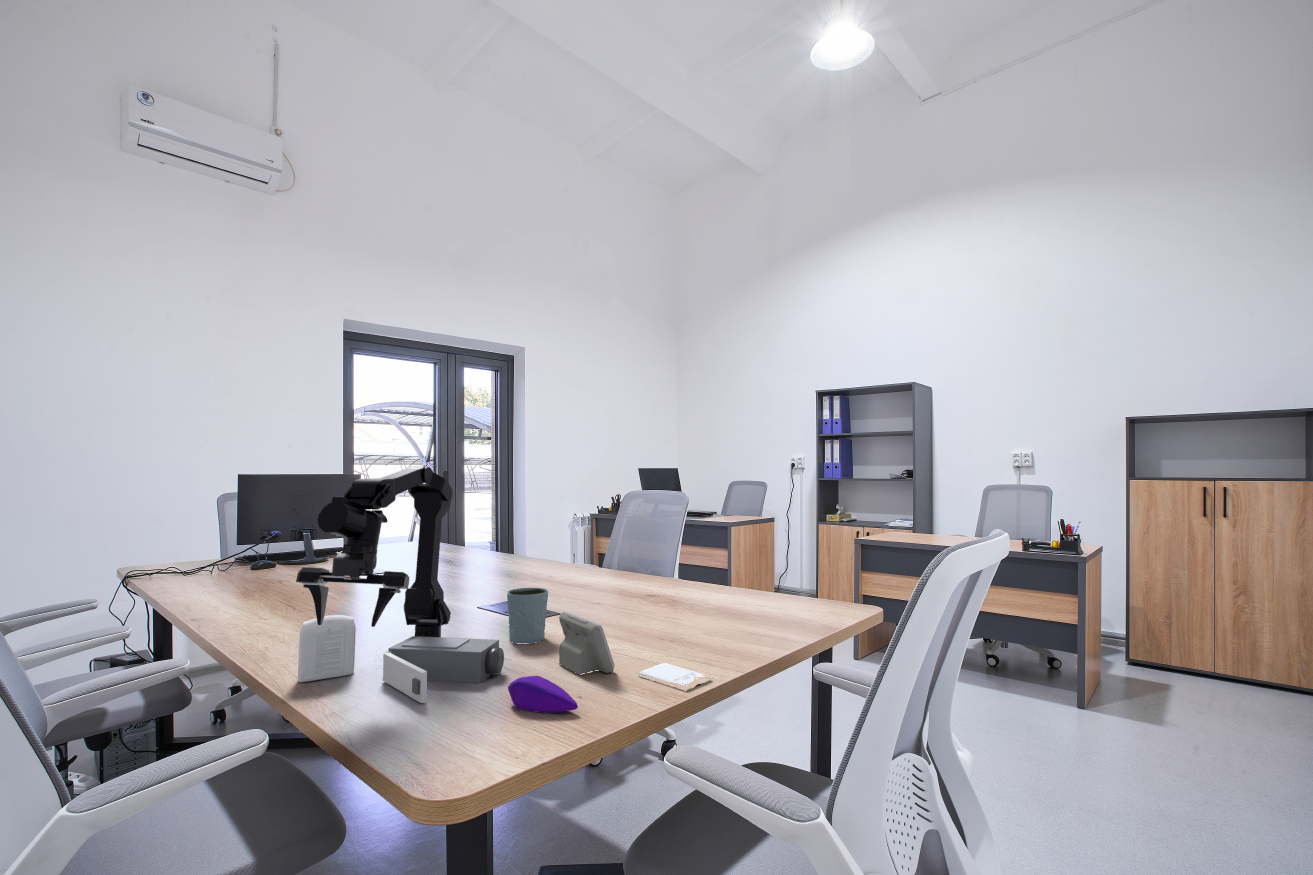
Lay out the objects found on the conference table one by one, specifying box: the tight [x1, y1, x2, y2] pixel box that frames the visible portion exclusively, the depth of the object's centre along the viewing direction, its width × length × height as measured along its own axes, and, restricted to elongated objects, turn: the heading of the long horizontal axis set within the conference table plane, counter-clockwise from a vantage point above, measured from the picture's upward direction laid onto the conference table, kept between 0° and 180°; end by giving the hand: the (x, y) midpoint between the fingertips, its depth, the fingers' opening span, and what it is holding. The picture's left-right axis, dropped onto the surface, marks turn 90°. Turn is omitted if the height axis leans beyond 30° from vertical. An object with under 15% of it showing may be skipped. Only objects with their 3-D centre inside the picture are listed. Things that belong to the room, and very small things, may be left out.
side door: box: [382, 651, 428, 704], centre depth 115 cm, size 2×18×5 cm, turn 46°
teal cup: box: [506, 587, 549, 644], centre depth 150 cm, size 10×10×12 cm
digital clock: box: [558, 611, 615, 675], centre depth 129 cm, size 16×9×11 cm, turn 26°
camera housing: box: [387, 635, 505, 684], centre depth 125 cm, size 9×22×6 cm, turn 81°
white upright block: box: [297, 614, 357, 683], centre depth 124 cm, size 10×4×12 cm, turn 123°
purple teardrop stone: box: [507, 675, 579, 714], centre depth 107 cm, size 5×5×15 cm
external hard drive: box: [638, 662, 707, 686], centre depth 121 cm, size 2×8×12 cm
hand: (346, 625), depth 112 cm, fingers open, 9 cm apart
